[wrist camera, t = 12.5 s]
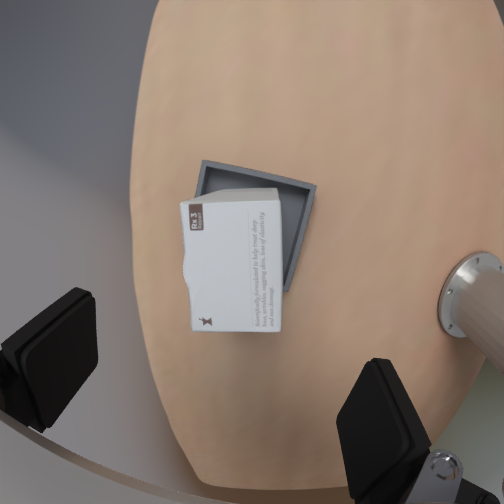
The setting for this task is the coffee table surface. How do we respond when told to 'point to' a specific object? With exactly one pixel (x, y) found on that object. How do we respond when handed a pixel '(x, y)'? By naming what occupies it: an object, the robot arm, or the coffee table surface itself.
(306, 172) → the coffee table surface
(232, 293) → the skincare box
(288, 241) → the tray
